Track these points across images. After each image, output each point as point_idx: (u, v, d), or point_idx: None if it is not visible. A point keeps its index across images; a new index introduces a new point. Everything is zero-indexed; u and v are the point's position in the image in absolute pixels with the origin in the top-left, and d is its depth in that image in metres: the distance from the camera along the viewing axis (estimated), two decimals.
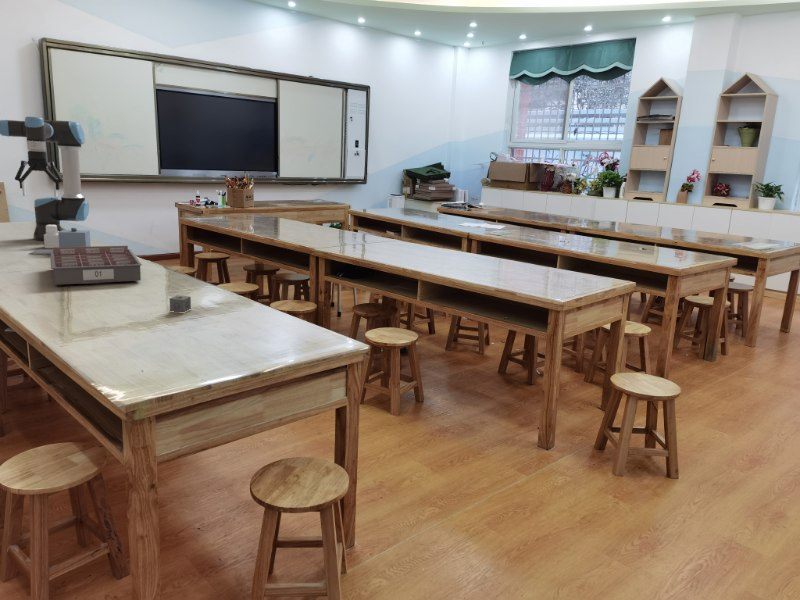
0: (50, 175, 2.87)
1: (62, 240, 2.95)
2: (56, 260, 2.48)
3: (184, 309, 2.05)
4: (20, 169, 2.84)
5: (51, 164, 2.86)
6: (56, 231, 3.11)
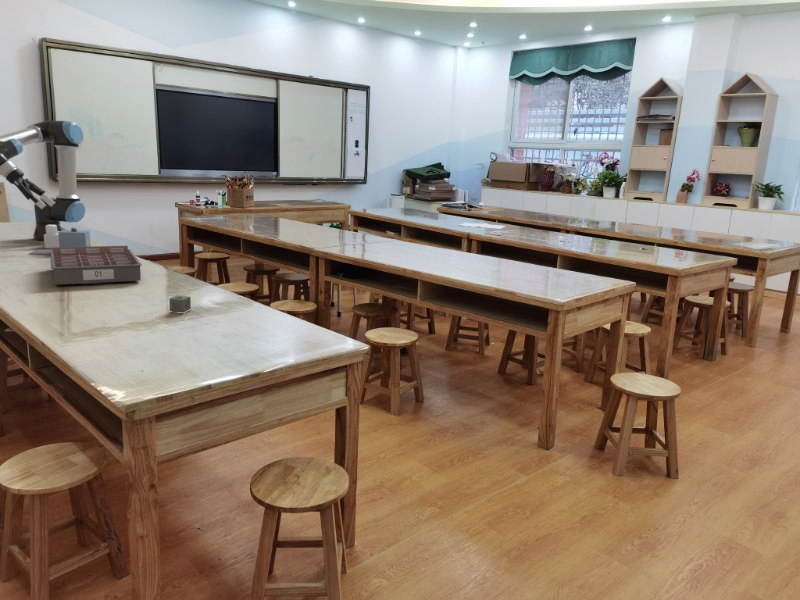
0: None
1: (62, 240, 2.95)
2: (56, 260, 2.48)
3: (184, 309, 2.05)
4: None
5: None
6: (56, 231, 3.11)
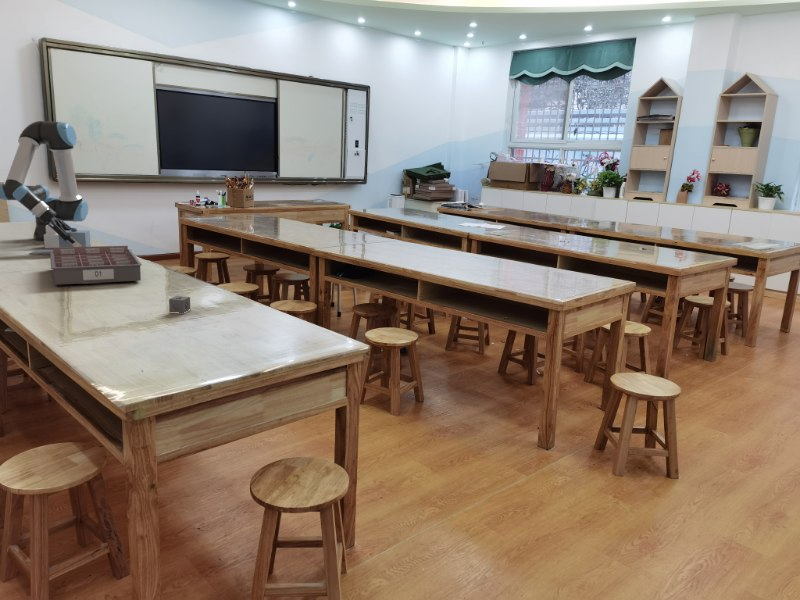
0: None
1: (62, 240, 2.95)
2: (56, 260, 2.48)
3: (183, 309, 2.05)
4: None
5: None
6: None
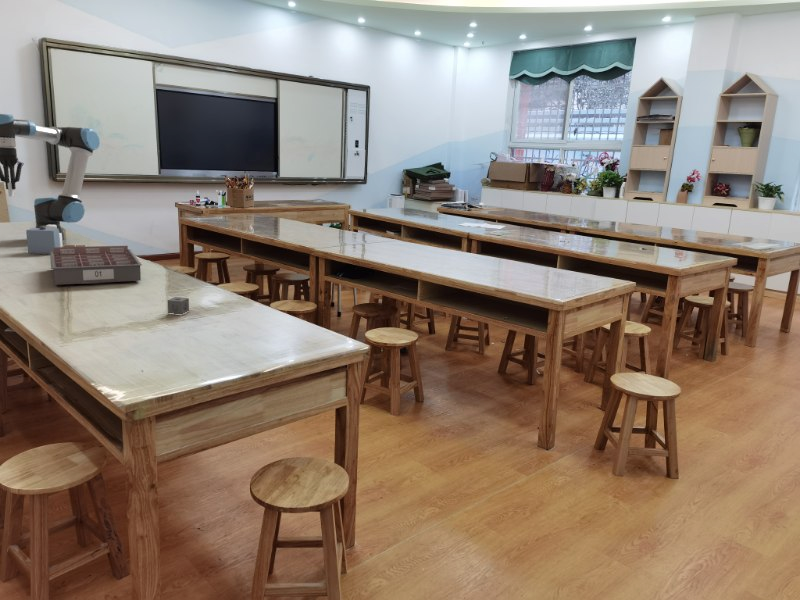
0: (11, 174, 2.95)
1: (30, 238, 2.92)
2: (56, 260, 2.48)
3: (182, 311, 2.03)
4: None
5: (19, 164, 2.95)
6: None
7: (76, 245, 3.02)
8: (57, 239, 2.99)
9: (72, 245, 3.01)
